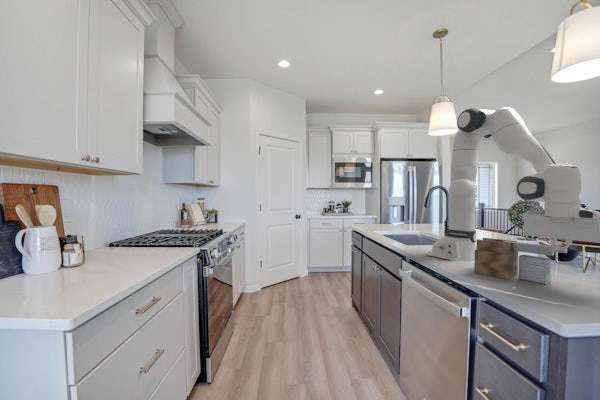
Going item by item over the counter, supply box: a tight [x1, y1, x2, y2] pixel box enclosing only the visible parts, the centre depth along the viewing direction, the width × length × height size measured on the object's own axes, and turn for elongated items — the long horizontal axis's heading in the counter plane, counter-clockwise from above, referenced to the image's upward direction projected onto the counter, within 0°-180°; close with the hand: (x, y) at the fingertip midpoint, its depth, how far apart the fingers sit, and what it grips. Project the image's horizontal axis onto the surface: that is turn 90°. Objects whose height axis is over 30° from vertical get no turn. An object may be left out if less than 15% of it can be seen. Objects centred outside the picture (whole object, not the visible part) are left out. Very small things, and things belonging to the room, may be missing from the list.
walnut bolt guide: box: [474, 237, 519, 281], centre depth 105 cm, size 11×12×13 cm
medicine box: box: [518, 253, 552, 285], centre depth 96 cm, size 8×4×9 cm, turn 32°
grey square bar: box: [503, 240, 555, 257], centre depth 98 cm, size 14×3×3 cm, turn 38°
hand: (560, 252), depth 91 cm, fingers closed
